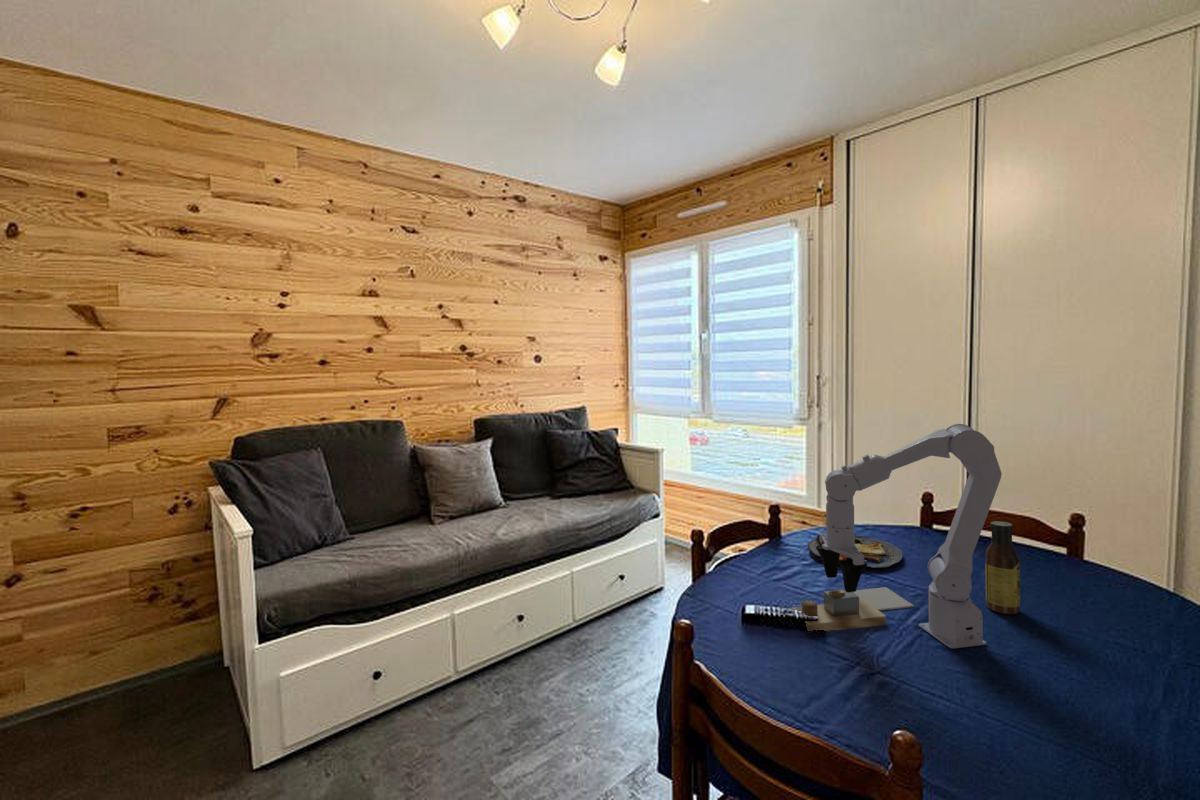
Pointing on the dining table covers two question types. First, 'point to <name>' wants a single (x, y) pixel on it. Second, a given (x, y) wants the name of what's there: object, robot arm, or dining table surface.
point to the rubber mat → (882, 598)
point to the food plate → (868, 551)
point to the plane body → (841, 617)
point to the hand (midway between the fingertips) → (840, 583)
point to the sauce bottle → (1002, 570)
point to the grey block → (841, 603)
